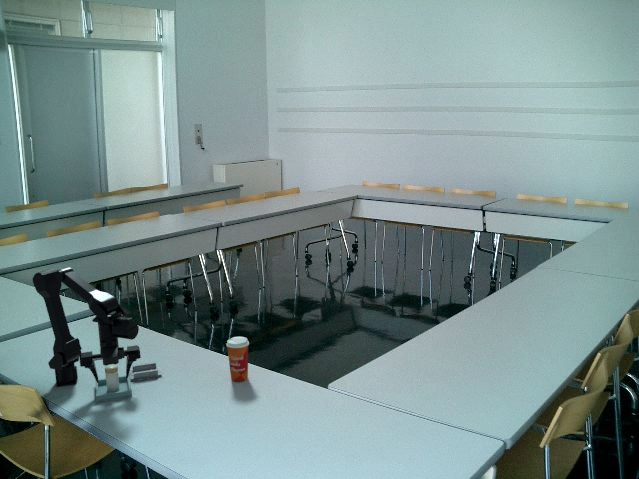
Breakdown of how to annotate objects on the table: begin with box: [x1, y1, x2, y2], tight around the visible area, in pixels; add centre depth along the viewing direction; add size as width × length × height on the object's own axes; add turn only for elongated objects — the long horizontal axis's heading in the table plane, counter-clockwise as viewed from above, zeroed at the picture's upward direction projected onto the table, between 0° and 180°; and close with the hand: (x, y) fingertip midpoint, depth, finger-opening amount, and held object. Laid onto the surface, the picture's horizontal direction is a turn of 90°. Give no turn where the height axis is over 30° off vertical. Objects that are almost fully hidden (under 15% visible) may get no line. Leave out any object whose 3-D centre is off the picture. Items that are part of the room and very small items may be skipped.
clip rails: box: [129, 361, 163, 382], centre depth 226 cm, size 10×8×2 cm
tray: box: [94, 375, 133, 403], centre depth 213 cm, size 11×13×2 cm
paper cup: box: [225, 336, 250, 383], centre depth 220 cm, size 8×8×14 cm
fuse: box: [104, 364, 120, 392], centre depth 212 cm, size 4×4×8 cm
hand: (112, 380), depth 213 cm, fingers open, 9 cm apart
